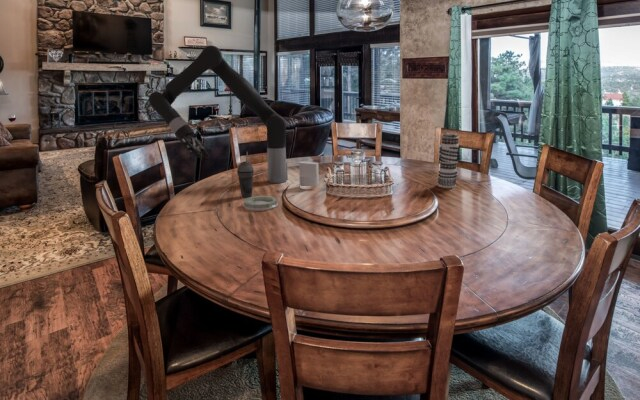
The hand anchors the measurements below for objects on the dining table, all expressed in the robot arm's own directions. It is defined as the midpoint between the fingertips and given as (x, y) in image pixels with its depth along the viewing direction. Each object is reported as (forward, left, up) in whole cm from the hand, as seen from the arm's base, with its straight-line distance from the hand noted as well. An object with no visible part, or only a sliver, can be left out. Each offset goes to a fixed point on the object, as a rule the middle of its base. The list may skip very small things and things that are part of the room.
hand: (203, 157), depth 197 cm
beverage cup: (-5, +20, -17) cm, 27 cm away
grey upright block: (-33, +34, -17) cm, 50 cm away
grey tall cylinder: (-71, +88, -17) cm, 114 cm away
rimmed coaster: (+3, +35, -16) cm, 39 cm away
